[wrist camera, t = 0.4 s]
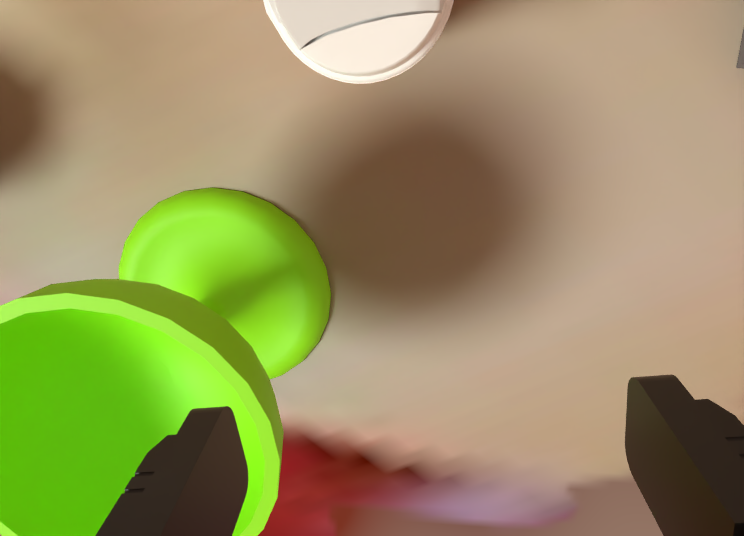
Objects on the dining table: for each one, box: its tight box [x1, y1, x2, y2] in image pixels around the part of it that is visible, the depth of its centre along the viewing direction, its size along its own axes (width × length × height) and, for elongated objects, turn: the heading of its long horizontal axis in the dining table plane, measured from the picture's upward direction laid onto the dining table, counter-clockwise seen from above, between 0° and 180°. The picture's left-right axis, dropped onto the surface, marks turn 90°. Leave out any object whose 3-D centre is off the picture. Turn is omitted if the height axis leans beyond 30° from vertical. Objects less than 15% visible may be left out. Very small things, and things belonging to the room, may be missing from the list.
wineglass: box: [0, 188, 331, 536], centre depth 34 cm, size 16×16×18 cm
